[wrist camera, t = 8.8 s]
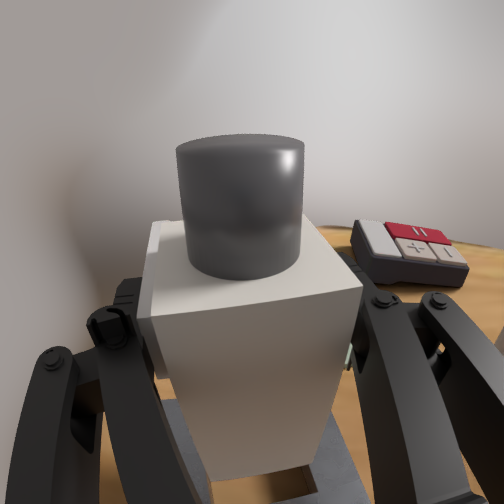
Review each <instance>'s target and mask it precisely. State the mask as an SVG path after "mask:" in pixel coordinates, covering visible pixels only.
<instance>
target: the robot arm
mask: <svg viewBox="0 0 504 504" xmlns="http://www.w3.org/2000/svg"><path fill="white" fill-rule="evenodd" d="M165 222H169V220H165V221H157V222H153V224H152V229H151V234H150V239H149V244H148V250H147V255H146V260H145V266H144V273H143V277H138V278H130V279H124V280H123V281H122V282H121V284H120V285H119V286H118V287H117V290H116V294H115V298H114V302H113V305H111V306H105V307H103V308H100V309H98V310H96V311H95V312H94V313H92V314H91V315H90V317H89V318H88V320H87V324H86V326H87V329H88V331H89V333H90V335H91V338H92V340H93V342H94V344H95V347H94V348H92V349H90V350H87V351H84V352H81V353H78V354H75V355H72V353H71V351H70V350H69V349H68V348H66V347H62V346H56V347H51V348H49V349H47V350H46V351H44V352H43V353H42V354H41V355H40V356H39V358H38V360H37V362H36V364H35V367H34V370H33V374H32V377H31V380H30V383H29V386H28V390H27V393H26V397H25V401H24V404H23V408H22V412H21V416H20V420H19V424H18V428H17V433H16V437H15V442H14V447H13V452H12V457H11V463H10V469H9V475H8V482H7V483H8V484H7V490H6V499H5V504H99V474H100V449H101V434H102V421H103V412H105V416H106V421H107V426H108V431H109V435H110V440H111V444H112V449H113V453H114V457H115V461H116V465H117V469H118V472H119V476H120V480H121V483H122V487H123V490H124V493H125V497H126V500H127V503H128V504H203V503H202V501H201V499H200V497H199V494H198V492H197V490H196V488H195V486H194V484H193V481H192V479H191V477H190V474H189V472H188V470H187V468H186V465H185V463H184V460H183V458H182V456H181V453H180V451H179V448H178V446H177V443H176V441H175V438H174V435H173V433H172V430H171V427H170V425H169V422H168V419H167V416H166V414H165V411H164V408H163V405H162V402H161V399H160V396H159V393H158V390H157V388H156V385H155V383H154V371H155V374H156V377H157V379H167V378H170V377H169V374H168V371H167V368H166V365H165V362H164V359H163V356H162V353H161V350H160V346H159V343H158V340H157V337H156V333H155V330H154V326H153V323H152V319H151V306H152V296H153V286H154V277H155V268H156V260H157V252H158V244H159V237H160V230H161V223H165ZM337 254H338V255H339V256H340V257H341V259H342V260H343V261H344V262H345V264H346V265H347V266H348V267H349V268H350V270H351V271H352V272H353V273H354V275H355V276H356V277H357V278H358V280H359V281H360V282H361V283H362V285H363V291H362V295H361V300H360V304H359V309H358V313H357V318H356V322H355V326H354V330H353V334H352V338H351V344H352V349H351V353H350V357H349V360H348V364H347V371H350V367H351V364H352V366H353V371H354V376H355V381H356V386H357V391H358V396H359V402H360V407H361V412H362V418H363V424H364V430H365V436H366V442H367V448H368V455H369V461H370V468H371V476H372V483H373V491H374V499H375V504H488V502H489V504H504V356H503V355H502V354H501V353H500V352H499V350H498V349H497V348H496V347H495V346H494V344H493V343H492V342H491V341H490V340H489V339H488V338H487V336H486V335H485V334H484V333H483V332H482V331H481V330H480V329H479V327H478V326H477V325H476V324H475V323H474V322H473V321H472V320H471V319H470V318H469V317H468V315H467V314H466V313H465V312H464V311H463V310H462V309H461V308H460V307H459V306H458V305H457V304H456V303H455V302H454V301H453V300H452V299H451V298H450V297H449V296H447V295H446V294H443V293H441V292H437V291H429V292H427V293H425V294H424V295H423V296H422V299H421V302H420V303H403V302H402V301H401V300H400V299H399V297H398V296H396V295H395V294H393V293H392V292H389V291H386V290H379V289H378V288H377V287H376V286H375V284H374V283H373V282H372V281H371V280H370V278H369V277H368V276H367V275H366V274H365V273H364V272H363V270H362V269H361V268H360V267H359V266H358V264H357V263H356V262H355V261H354V260H353V259H352V258H351V257H350V256H348V255H346V254H344V253H343V252H337ZM440 343H442V344H443V346H444V347H445V350H444V352H443V353H442V352H441V351H440V350H439V349H438V347H439V345H440ZM459 449H460V450H459ZM460 451H461V452H462V454H463V456H464V458H465V459H466V461H467V463H468V465H469V467H470V468H471V470H472V472H473V474H474V476H475V477H476V479H477V481H478V483H479V485H480V487H481V489H482V490H483V492H484V494H485V496H486V498H487V500H488V501H487V500H486V499H485V498H484V497H483V496H479V495H476V494H474V493H473V492H472V491H471V489H470V487H469V483H468V479H467V475H466V471H465V467H464V464H463V460H462V457H461V453H460Z"/></svg>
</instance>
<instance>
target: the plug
mask: <svg viewBox="0 0 504 504" xmlns="http://www.w3.org/2000/svg"><path fill="white" fill-rule="evenodd" d="M176 157H177V168H178V178H179V188H180V197H181V205H182V214H183V220H182V221H173V222H165V223H161V230H160V237H159V244H158V252H157V260H156V268H155V277H154V286H153V296H152V306H151V319H152V323H153V326H154V330H155V333H156V337H157V340H158V343H159V346H160V350H161V353H162V356H163V359H164V362H165V365H166V368H167V371H168V374H169V377H170V380H171V383H172V386H173V389H174V392H175V395H176V397H177V400H178V403H179V406H180V408H181V411H182V414H183V416H184V419H185V422H186V424H187V427H188V429H189V432H190V434H191V437H192V439H193V442H194V444H195V447H196V449H197V451H198V454H199V456H200V458H201V461H202V463H203V465H204V468H205V470H206V472H207V474H208V477H209V479H210V481H211V482H214V481H222V480H230V479H237V478H244V477H250V476H256V475H261V474H267V473H272V472H277V471H281V470H286V469H290V468H295V467H299V466H303V465H307V464H311V463H312V462H313V459H314V457H315V454H316V451H317V449H318V446H319V443H320V440H321V438H322V435H323V432H324V429H325V426H326V423H327V420H328V417H329V414H330V411H331V408H332V405H333V402H334V398H335V395H336V392H337V389H338V385H339V382H340V379H341V375H342V372H343V368H344V365H345V361H346V357H347V354H348V350H349V346H350V342H351V338H352V334H353V330H354V326H355V322H356V318H357V313H358V309H359V304H360V300H361V295H362V291H363V285H362V283H361V282H360V281H359V280H358V278H357V277H356V276H355V275H354V273H353V272H352V271H351V270H350V268H349V267H348V266H347V265H346V264H345V262H344V261H343V260H342V259H341V257H340V256H339V255H338V254H337V253H336V251H335V250H334V249H333V248H332V247H331V245H330V244H329V243H328V242H327V241H326V240H325V238H324V237H323V236H322V235H321V234H320V232H319V231H318V230H317V229H316V228H315V227H314V225H313V224H312V223H311V222H310V221H309V220H308V219H307V217H306V216H305V215H304V214H303V213H302V205H303V178H304V177H303V176H304V143H303V142H302V141H300V140H297V139H294V138H290V137H284V136H277V135H266V134H235V135H221V136H213V137H207V138H201V139H197V140H193V141H189V142H186V143H183V144H181V145H179V146H178V147H177V148H176Z"/></svg>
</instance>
